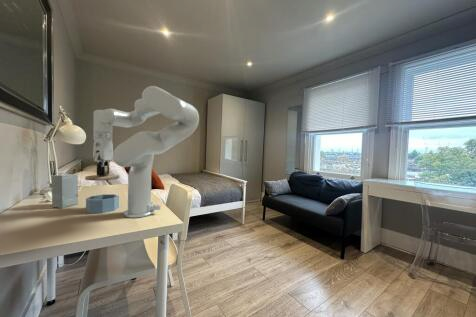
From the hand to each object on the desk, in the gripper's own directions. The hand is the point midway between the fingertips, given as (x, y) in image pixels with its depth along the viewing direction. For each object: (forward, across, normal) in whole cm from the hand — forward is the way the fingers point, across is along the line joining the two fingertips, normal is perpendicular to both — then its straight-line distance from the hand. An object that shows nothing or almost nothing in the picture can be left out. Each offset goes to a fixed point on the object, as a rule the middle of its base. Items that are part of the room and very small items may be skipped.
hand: (103, 174), depth 95 cm
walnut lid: (+2, 0, 0) cm, 2 cm away
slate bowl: (+17, 0, 0) cm, 17 cm away
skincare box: (+17, +8, +21) cm, 28 cm away
